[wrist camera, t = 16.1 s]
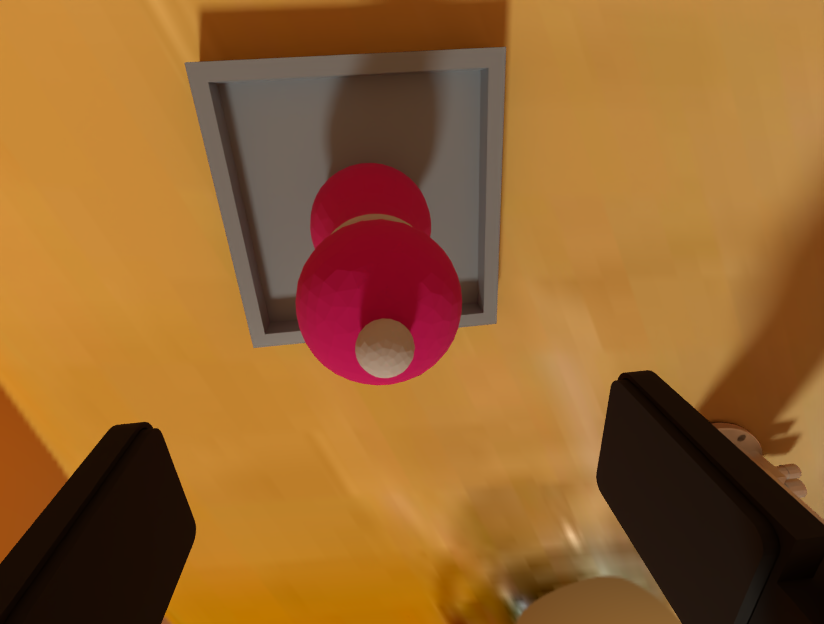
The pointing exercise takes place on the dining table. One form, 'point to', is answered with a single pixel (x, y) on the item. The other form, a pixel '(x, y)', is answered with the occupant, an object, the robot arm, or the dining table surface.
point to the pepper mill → (376, 279)
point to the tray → (352, 160)
